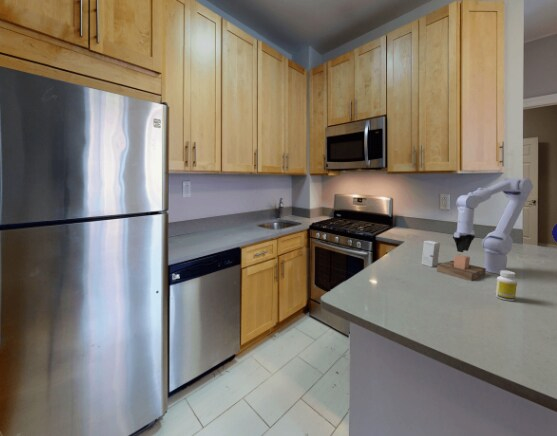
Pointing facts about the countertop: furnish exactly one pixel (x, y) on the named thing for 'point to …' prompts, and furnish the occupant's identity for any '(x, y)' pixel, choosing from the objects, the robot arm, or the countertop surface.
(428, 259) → the skincare box
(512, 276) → the supplement bottle
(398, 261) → the countertop surface
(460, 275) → the walnut socket block
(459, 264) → the terracotta peg
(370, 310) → the countertop surface
